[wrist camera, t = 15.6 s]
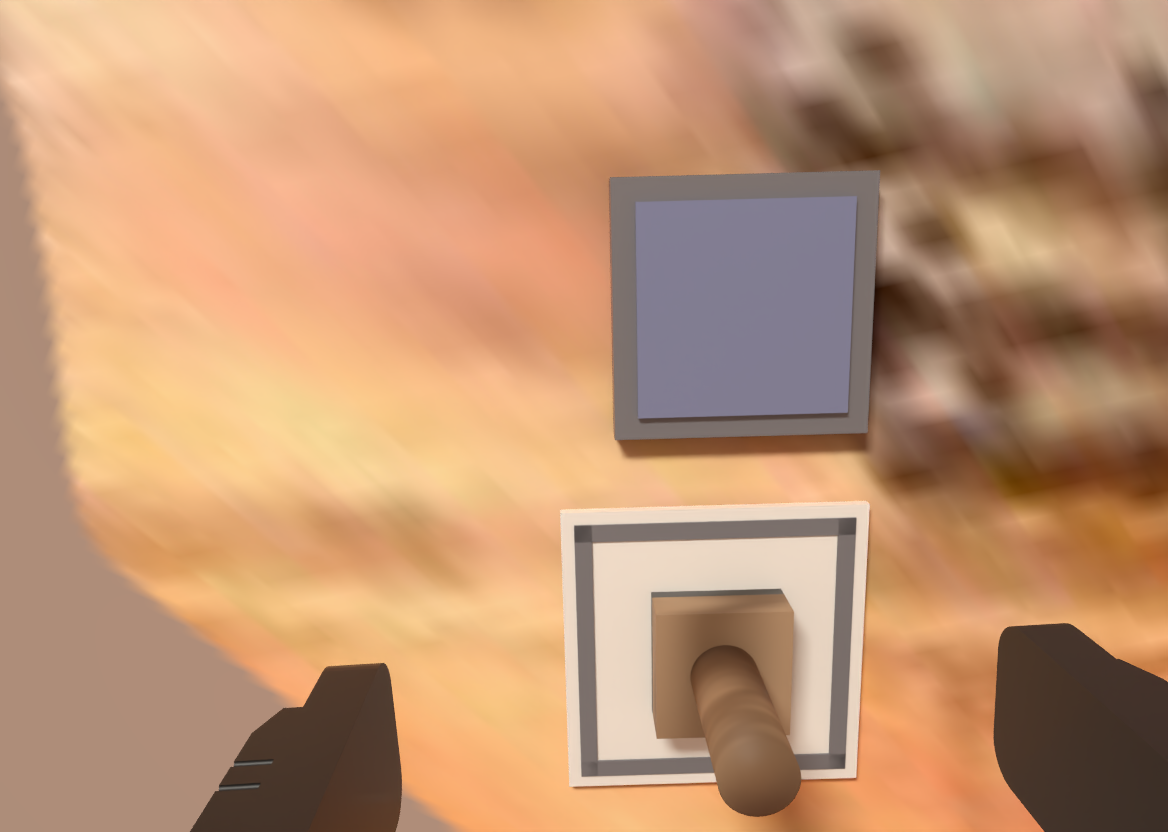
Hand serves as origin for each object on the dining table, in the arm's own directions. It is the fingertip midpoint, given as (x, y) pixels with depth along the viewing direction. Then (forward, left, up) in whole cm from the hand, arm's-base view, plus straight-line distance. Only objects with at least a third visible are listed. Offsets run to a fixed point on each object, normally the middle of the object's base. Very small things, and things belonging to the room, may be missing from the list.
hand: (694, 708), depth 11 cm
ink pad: (-6, -3, -27) cm, 28 cm away
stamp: (-5, +13, -26) cm, 30 cm away
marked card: (-5, +13, -27) cm, 30 cm away
